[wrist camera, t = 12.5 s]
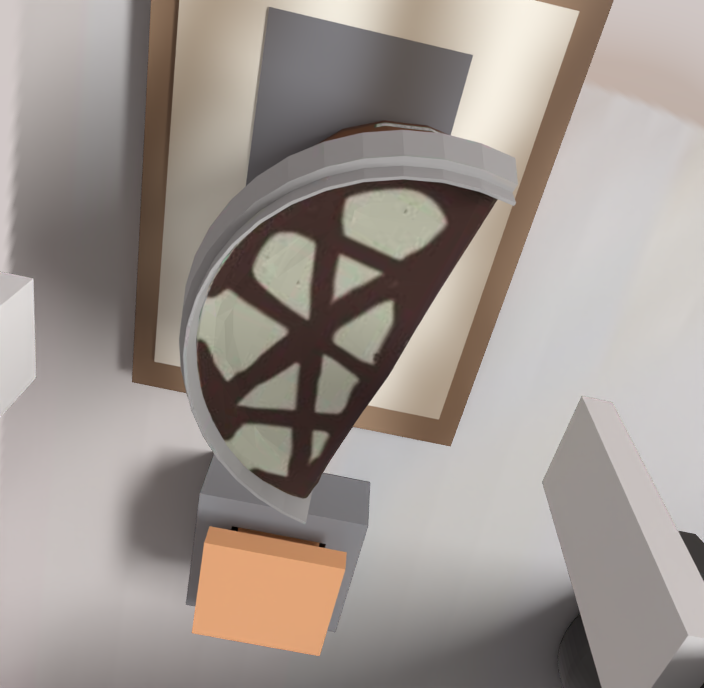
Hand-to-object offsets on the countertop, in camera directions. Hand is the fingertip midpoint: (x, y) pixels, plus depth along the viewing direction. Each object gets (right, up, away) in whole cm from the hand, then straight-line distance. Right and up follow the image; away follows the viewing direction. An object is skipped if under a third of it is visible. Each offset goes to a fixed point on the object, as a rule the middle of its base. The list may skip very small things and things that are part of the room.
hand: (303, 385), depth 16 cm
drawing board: (+1, +7, +11) cm, 13 cm away
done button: (-3, -9, +18) cm, 21 cm away
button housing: (-3, -9, +20) cm, 22 cm away
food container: (0, +6, +10) cm, 12 cm away
